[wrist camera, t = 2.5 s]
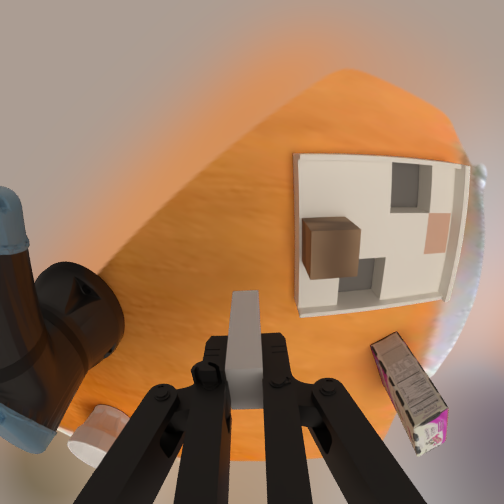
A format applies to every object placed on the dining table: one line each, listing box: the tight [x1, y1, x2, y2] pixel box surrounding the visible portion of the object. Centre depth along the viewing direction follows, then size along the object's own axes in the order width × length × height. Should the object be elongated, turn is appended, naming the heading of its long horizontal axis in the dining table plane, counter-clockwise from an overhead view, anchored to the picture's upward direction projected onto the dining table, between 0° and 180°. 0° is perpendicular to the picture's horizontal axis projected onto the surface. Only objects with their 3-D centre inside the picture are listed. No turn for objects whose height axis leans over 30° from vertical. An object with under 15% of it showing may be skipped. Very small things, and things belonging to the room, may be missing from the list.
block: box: [302, 217, 361, 280], centre depth 26 cm, size 4×4×4 cm
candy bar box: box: [370, 332, 449, 457], centre depth 31 cm, size 11×5×16 cm, turn 28°
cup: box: [67, 405, 130, 468], centre depth 39 cm, size 12×12×11 cm
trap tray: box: [293, 153, 470, 318], centre depth 29 cm, size 20×17×5 cm
